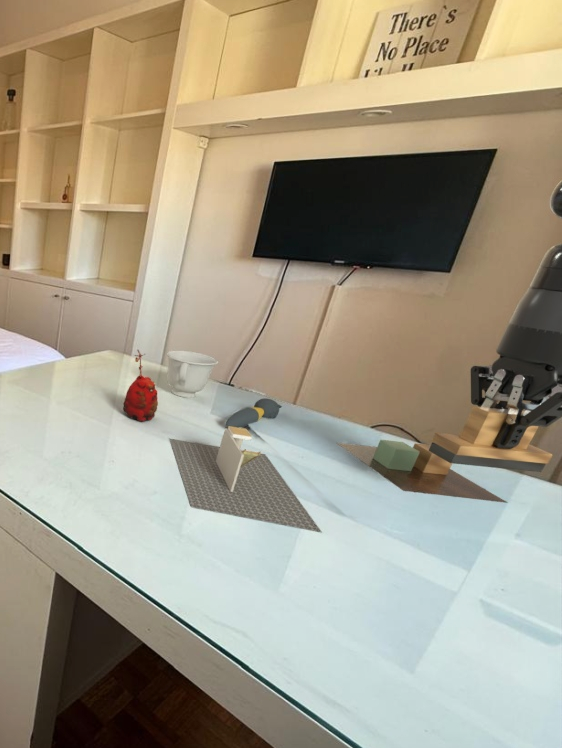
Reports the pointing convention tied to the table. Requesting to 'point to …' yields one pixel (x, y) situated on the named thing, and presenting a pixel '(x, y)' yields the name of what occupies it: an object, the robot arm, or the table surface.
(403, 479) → the brown flat mat
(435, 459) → the wooden cube
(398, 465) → the sage cube
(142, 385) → the red clay folk toy
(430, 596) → the table surface
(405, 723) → the table surface
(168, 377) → the teacup
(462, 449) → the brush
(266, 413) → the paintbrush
